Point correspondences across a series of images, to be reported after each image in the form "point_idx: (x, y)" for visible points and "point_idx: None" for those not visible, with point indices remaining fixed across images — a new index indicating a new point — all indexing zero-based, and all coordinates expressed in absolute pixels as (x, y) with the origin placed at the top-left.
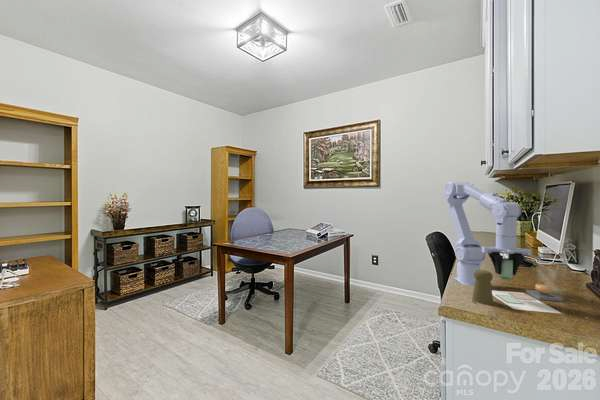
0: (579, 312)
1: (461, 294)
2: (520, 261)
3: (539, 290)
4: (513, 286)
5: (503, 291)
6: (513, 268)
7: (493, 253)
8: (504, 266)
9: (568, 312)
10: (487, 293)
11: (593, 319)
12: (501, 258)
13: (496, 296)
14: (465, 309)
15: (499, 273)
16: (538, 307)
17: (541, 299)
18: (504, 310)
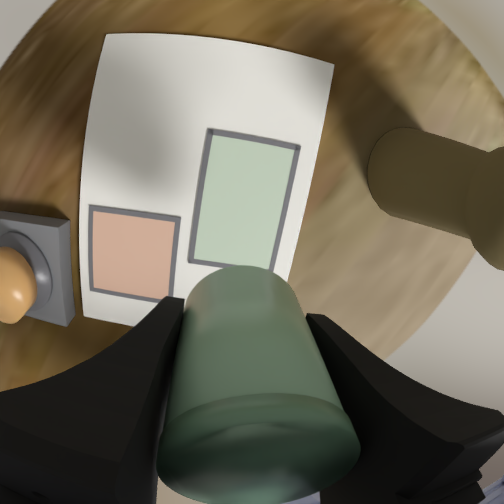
0: (7, 105)
1: (418, 277)
2: (71, 384)
3: (28, 271)
4: None
5: None
6: (169, 352)
7: (467, 491)
8: (314, 353)
9: (47, 88)
10: (451, 140)
11: (24, 38)
12: (431, 421)
13: (285, 246)
14: (497, 115)
15: (322, 316)
16: (162, 92)
17: (56, 222)
18: (371, 78)
